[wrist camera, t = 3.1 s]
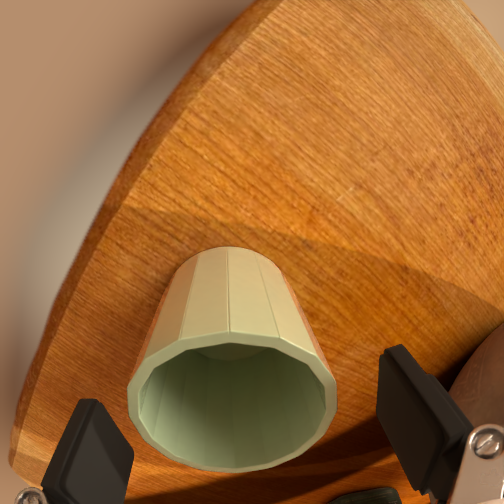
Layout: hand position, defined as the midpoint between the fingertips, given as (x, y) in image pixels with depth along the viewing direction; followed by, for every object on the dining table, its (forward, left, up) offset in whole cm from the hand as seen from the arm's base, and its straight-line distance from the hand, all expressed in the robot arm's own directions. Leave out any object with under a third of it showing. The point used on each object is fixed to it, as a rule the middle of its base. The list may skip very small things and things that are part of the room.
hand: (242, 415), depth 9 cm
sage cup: (0, 0, -8) cm, 8 cm away
